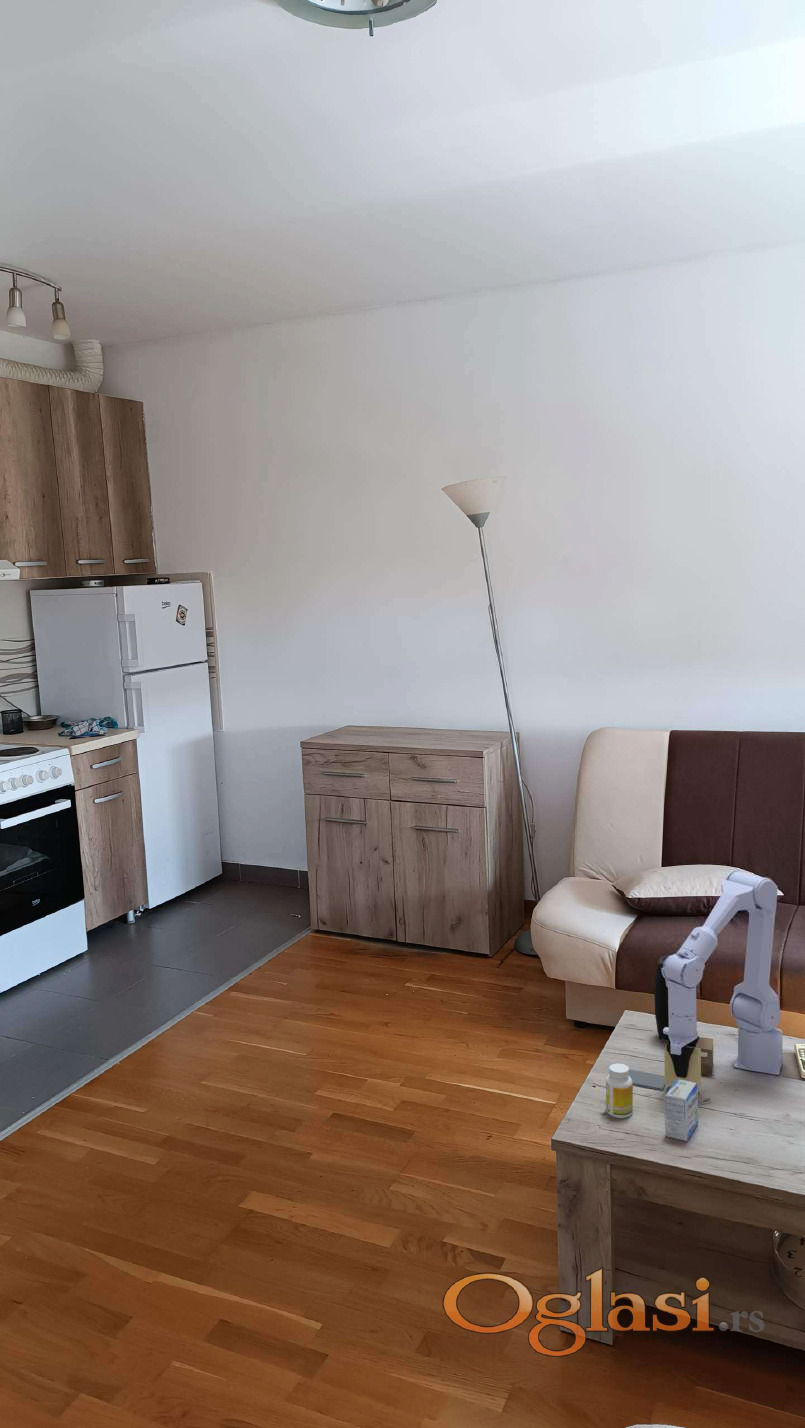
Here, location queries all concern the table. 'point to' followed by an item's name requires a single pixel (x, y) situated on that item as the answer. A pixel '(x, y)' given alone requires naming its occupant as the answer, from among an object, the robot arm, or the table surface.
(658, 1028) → the portable speaker
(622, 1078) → the supplement bottle
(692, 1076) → the cream rectangular block
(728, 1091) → the table surface
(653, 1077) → the mat
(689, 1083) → the medicine box
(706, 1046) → the letter cube
